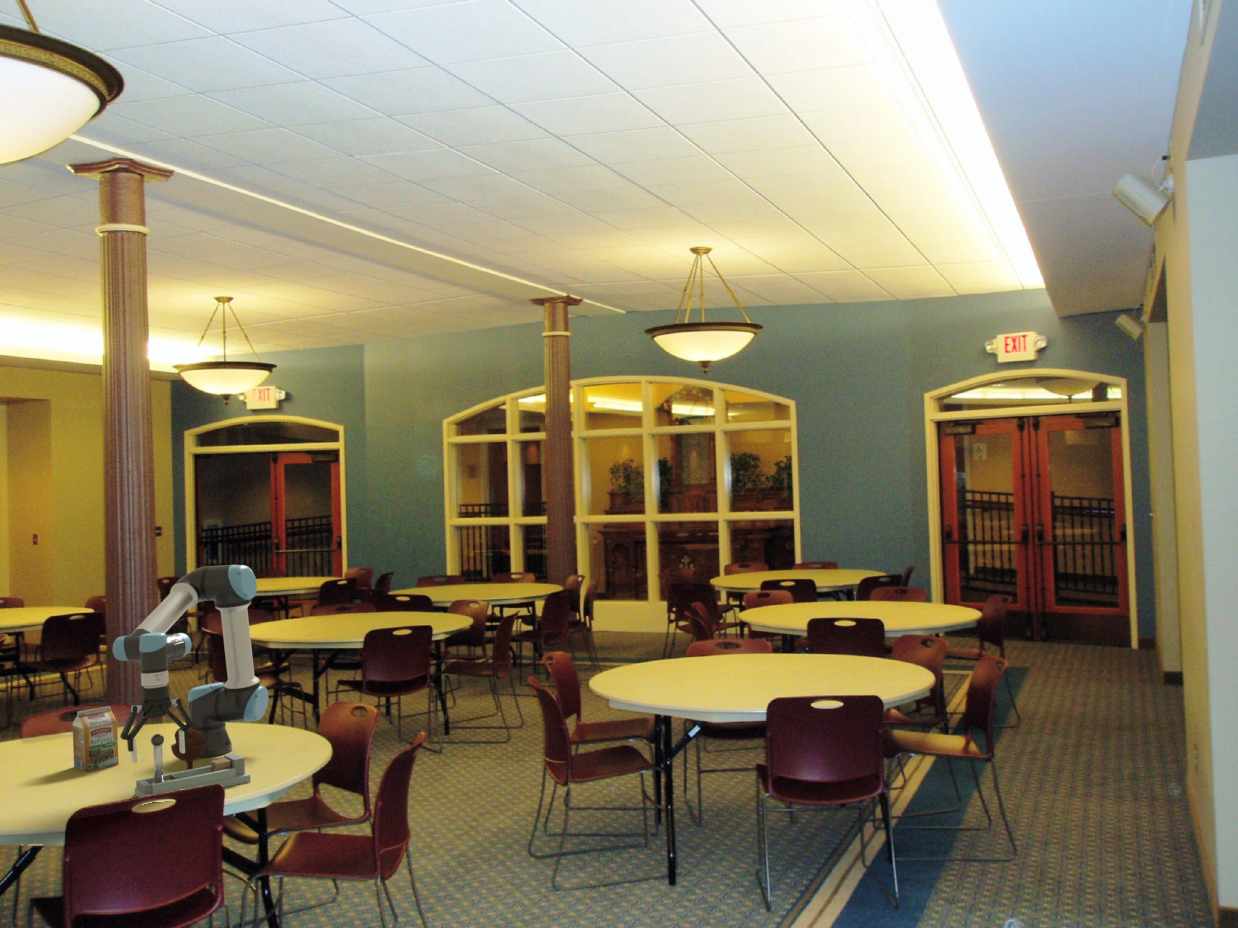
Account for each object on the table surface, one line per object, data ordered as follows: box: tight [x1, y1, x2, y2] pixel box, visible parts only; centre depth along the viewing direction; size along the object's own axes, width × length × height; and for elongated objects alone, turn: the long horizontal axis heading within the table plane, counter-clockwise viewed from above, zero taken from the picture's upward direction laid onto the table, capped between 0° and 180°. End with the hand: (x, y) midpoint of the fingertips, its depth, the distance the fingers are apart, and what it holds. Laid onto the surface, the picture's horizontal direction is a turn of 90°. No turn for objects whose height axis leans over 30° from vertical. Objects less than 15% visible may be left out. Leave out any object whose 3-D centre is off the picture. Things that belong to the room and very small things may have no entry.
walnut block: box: [210, 758, 231, 772], centre depth 331 cm, size 4×4×4 cm
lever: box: [149, 733, 180, 784], centre depth 321 cm, size 7×7×16 cm
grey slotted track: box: [134, 753, 251, 798], centre depth 326 cm, size 13×30×7 cm, turn 129°
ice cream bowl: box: [170, 727, 207, 770], centre depth 344 cm, size 11×11×15 cm
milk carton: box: [72, 705, 120, 773], centre depth 361 cm, size 11×11×19 cm
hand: (158, 757), depth 321 cm, fingers open, 13 cm apart
